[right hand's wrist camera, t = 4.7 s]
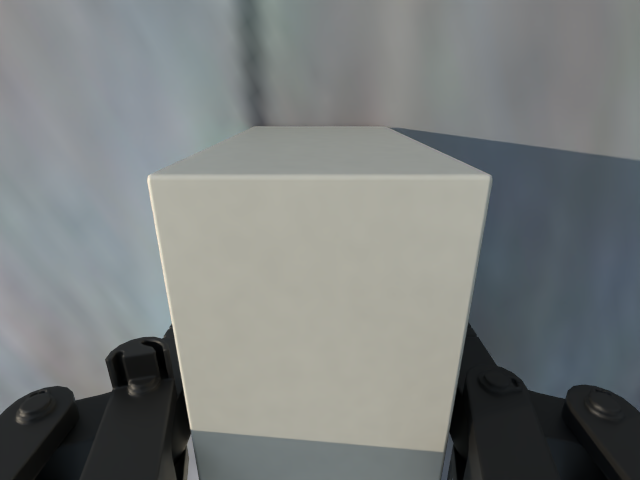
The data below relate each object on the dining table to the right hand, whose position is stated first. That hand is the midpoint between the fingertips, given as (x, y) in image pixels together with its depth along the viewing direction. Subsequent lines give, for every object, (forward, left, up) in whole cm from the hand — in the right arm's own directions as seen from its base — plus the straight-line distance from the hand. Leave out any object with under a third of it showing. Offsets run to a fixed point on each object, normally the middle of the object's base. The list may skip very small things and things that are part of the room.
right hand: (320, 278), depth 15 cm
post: (+14, +25, -1) cm, 29 cm away
